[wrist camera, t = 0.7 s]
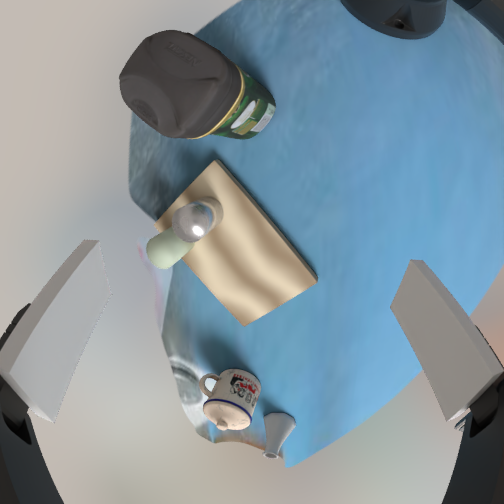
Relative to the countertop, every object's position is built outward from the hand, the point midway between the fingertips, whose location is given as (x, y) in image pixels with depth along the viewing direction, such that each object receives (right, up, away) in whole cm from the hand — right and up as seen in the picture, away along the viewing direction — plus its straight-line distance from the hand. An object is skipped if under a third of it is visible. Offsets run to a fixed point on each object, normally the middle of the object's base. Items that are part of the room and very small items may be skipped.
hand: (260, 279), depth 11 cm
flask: (+6, -36, +42) cm, 56 cm away
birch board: (-3, +2, +28) cm, 29 cm away
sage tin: (-10, +3, +28) cm, 30 cm away
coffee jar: (-2, +20, +21) cm, 29 cm away
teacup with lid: (-4, -24, +39) cm, 46 cm away
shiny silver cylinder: (-6, +6, +26) cm, 27 cm away
